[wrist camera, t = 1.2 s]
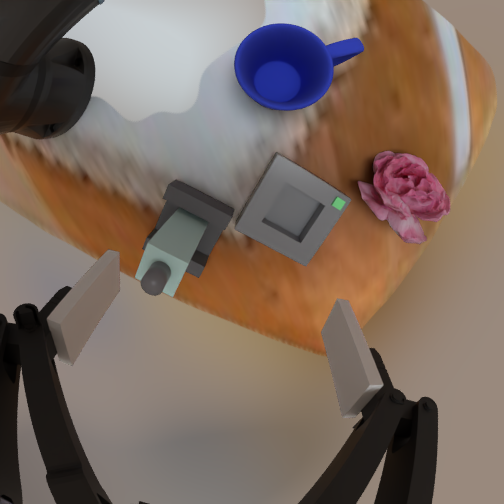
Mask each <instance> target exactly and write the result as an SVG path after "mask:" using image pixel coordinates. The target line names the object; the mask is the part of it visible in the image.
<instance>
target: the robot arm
mask: <svg viewBox="0 0 504 504" xmlns="http://www.w3.org/2000/svg"><path fill="white" fill-rule="evenodd" d="M103 2H104V0H0V134H3V133H8V132H15V133H18V134H21V135H25V136H28V137H31V138H34V139H46V138H52V137H56V136H59V135H61V134H63V133H64V132H66V131H67V130H69V129H70V128H71V127H72V126H73V125H74V124H75V123H76V122H77V120H78V119H79V118H80V116H81V115H82V113H83V112H84V110H85V108H86V106H87V104H88V102H89V100H90V97H91V94H92V91H93V87H94V81H95V63H94V59H93V56H92V53H91V52H90V50H89V49H88V47H87V46H86V45H84V44H83V43H81V42H79V41H76V40H73V39H69V38H62V37H63V36H64V35H65V34H66V33H67V32H68V31H69V30H70V29H71V28H72V27H73V26H74V25H75V24H76V23H78V22H79V21H80V20H81V19H82V18H83V17H84V16H85V15H86V14H88V13H89V12H90V11H91V10H92V9H93V8H95V7H96V6H97V5H99V4H102V3H103ZM119 255H120V252H117V251H113V250H109V249H108V250H107V251H106V252H105V253H104V254H103V255H102V257H101V258H100V259H99V260H98V261H97V262H96V263H95V264H94V265H93V266H92V267H91V268H90V269H89V270H88V271H87V272H86V273H85V275H84V276H83V277H82V278H81V279H80V280H79V281H78V282H77V283H76V284H75V286H74V287H73V288H71V287H68V286H66V287H64V288H62V289H60V290H59V291H58V292H57V293H56V294H55V295H54V297H52V298H51V300H50V301H49V302H48V303H47V304H46V305H45V306H44V307H43V308H42V310H41V311H40V312H38V309H37V307H36V306H35V305H33V304H29V303H28V304H22V305H20V306H18V307H17V308H16V309H15V311H14V314H13V316H14V319H15V321H16V324H13V323H8V322H7V319H6V317H5V316H4V315H3V314H0V504H22V489H21V482H20V472H19V463H18V448H17V407H18V391H19V379H20V371H21V367H22V375H23V381H24V388H25V393H26V398H27V403H28V407H29V413H30V417H31V421H32V425H33V429H34V432H35V435H36V439H37V443H38V446H39V449H40V452H41V455H42V458H43V461H44V464H45V466H46V470H47V475H46V479H47V483H48V486H49V488H50V490H51V493H52V495H53V497H54V500H55V502H56V504H112V502H111V501H110V499H109V498H108V496H107V494H106V492H105V491H104V490H103V488H102V487H101V485H100V483H99V481H98V480H97V477H96V476H95V474H94V472H93V469H92V467H91V465H90V463H89V461H88V459H87V457H86V455H85V452H84V450H83V448H82V445H81V443H80V441H79V438H78V435H77V433H76V430H75V427H74V425H73V422H72V419H71V416H70V413H69V411H68V408H67V404H66V401H65V398H64V395H63V391H62V388H61V385H60V381H59V377H58V373H57V369H56V365H55V361H54V357H55V355H56V354H58V357H59V360H60V361H62V362H64V363H66V364H68V365H71V366H73V364H74V362H75V361H76V359H77V357H78V356H79V354H80V352H81V351H82V349H83V347H84V346H85V344H86V342H87V341H88V339H89V337H90V336H91V334H92V333H93V331H94V329H95V328H96V326H97V325H98V323H99V321H100V320H101V318H102V317H103V315H104V314H105V312H106V311H107V309H108V308H109V306H110V305H111V303H112V301H113V300H114V299H115V297H116V296H117V294H118V293H119V291H120V267H119ZM321 334H322V337H323V341H324V345H325V349H326V353H327V357H328V360H329V364H330V368H331V372H332V376H333V381H334V385H335V389H336V393H337V397H338V402H339V406H340V410H341V415H342V418H353V417H356V416H357V415H358V414H359V413H360V412H362V416H363V417H362V419H360V420H359V421H358V423H357V424H356V425H355V426H354V427H353V428H355V429H354V430H353V432H352V433H351V435H350V436H349V438H348V439H347V441H346V442H345V444H344V445H343V447H342V448H341V450H340V451H339V453H338V454H337V455H336V457H335V458H334V460H333V461H332V463H331V464H330V465H329V466H328V468H327V469H326V471H325V472H324V473H323V474H322V476H321V477H320V478H319V479H318V481H317V482H316V483H315V485H314V486H313V487H312V488H311V489H310V491H309V492H308V493H307V494H306V495H305V496H304V498H303V499H302V500H301V501H300V502H299V503H298V504H356V503H357V501H358V499H359V498H360V497H361V495H362V493H363V492H364V490H365V488H366V487H367V485H368V483H369V481H370V480H371V478H372V476H373V474H374V473H375V471H376V469H377V467H378V465H379V464H380V462H381V460H382V458H383V455H384V454H385V452H386V450H387V453H386V458H385V463H384V468H383V472H382V476H381V481H380V484H379V488H378V492H377V495H376V499H375V502H374V504H432V498H433V491H434V483H435V474H436V461H437V443H438V408H437V405H436V403H435V402H434V401H433V400H432V399H431V398H429V397H422V398H421V399H420V400H419V401H418V402H414V401H410V400H406V397H405V395H404V394H403V393H402V392H401V391H400V390H398V389H395V388H394V387H393V385H392V382H391V380H390V377H389V375H388V373H387V370H386V369H385V365H384V364H383V361H382V358H381V356H380V355H379V353H378V352H377V351H376V350H375V349H374V348H369V347H368V345H367V342H366V340H365V337H364V335H363V333H362V330H361V328H360V326H359V323H358V321H357V319H356V317H355V314H354V312H353V310H352V308H351V305H350V303H349V301H348V300H343V299H338V298H337V300H336V302H335V304H334V307H333V309H332V311H331V313H330V315H329V317H328V319H327V321H326V323H325V325H324V327H323V329H322V331H321ZM139 504H148V503H144V502H141V501H140V502H139Z"/></svg>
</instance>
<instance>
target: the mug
mask: <svg viewBox="0 0 504 504" xmlns="http://www.w3.org/2000/svg"><path fill="white" fill-rule="evenodd" d="M363 51H364V47H363V44H362V43H361V41H360V40H359V39H358V38H352V39H347V40H343V41H339V42H335V43H332V44H329V45H327V46H325V44H324V43H323V42H322V41H321V40H320V39H319V38H318V37H317V36H316V35H315V34H313V33H312V32H310V31H308V30H306V29H304V28H302V27H299V26H296V25H292V24H271V25H267V26H263V27H261V28H259V29H257V30H255V31H253V32H252V33H250V34H249V35H248V36H247V37H246V38H245V39H244V40H243V41H242V43H241V44H240V46H239V47H238V50H237V52H236V55H235V61H234V68H235V74H236V77H237V80H238V82H239V84H240V86H241V87H242V89H243V90H244V91H245V92H246V94H247V95H248V96H250V97H251V98H252V99H253V100H255V101H256V102H257V103H259V104H260V105H262V106H264V107H266V108H269V109H274V110H286V111H287V110H297V109H302V108H305V107H307V106H310V105H312V104H313V103H315V102H317V101H318V100H319V99H320V98H321V97H322V96H323V95H324V94H325V93H326V92H327V90H328V88H329V87H330V84H331V82H332V78H333V67H334V66H336V65H338V64H341V63H343V62H345V61H347V60H348V59H350V58H352V57H354V56H356V55H358V54H359V53H361V52H363Z"/></svg>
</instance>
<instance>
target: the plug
mask: <svg viewBox="0 0 504 504" xmlns="http://www.w3.org/2000/svg"><path fill="white" fill-rule="evenodd" d="M208 223H209V222H208V221H206V220H204V219H202V218H200V217H198V216H196V215H194V214H192V213H190V212H188V211H186V210H184V209H182V208H180V207H179V208H178V209H177V210H176V211H175V213H174V214H173V215H172V216H171V217H170V218H169V219H168V220H167V221H166V223H165V224H164V225H163V226H162V227H161V228H160V229H159V230H158V232H157V233H156V234H155V235H154V236H153V237H152V238H151V240H150V241H149V242H148V243H147V246H146V249H145V251H144V254H143V257H142V259H141V262H140V265H139V267H138V270H137V273H136V276H135V278H136V279H138V280H140V281H141V286H142V289H143V290H144V291H145V292H146V293H148V294H150V295H154V296H156V295H159V294H161V293H162V292H163V293H165V294H167V295H169V296H171V297H173V296H174V293H175V291H176V289H177V287H178V285H179V283H180V281H181V279H182V277H183V275H184V273H185V271H186V269H187V267H188V265H189V262H190V260H191V258H192V256H193V254H194V252H195V250H196V248H197V246H198V244H199V241H200V239H201V237H202V235H203V233H204V231H205V229H206V227H207V225H208Z"/></svg>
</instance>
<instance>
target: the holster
mask: <svg viewBox="0 0 504 504" xmlns="http://www.w3.org/2000/svg"><path fill="white" fill-rule="evenodd" d="M163 199H165V200H167V201H166V203H165V205H164V208H163V210H162V212H161V215H160V217H159V220H158V222H157V224H156V227H155V229H154V230H153V231H152V232H151V233H150V234H149V235H148V236H147V238H146V241H145V243H144V246H143V248H142V249H143V250H145V249H146V246H147V243H148V242H149V241H150V240H151V238H152V237H153V236H154V235H155V234H156V233H157V232H158V230H159V229H160V228H161V227H162V226H163V225H164V224H165V223H166V221H167V220H168V219H169V218H170V217H171V216H172V215H173V214H174V213H175V211H176V210H177V209H178V208H179V207H180V208H182V209H184V210H186V211H188V212H190V213H192V214H194V215H196V216H198V217H200V218H202V219H204V220H206V221H208V222H209V223H208V225H207V227H206V229H205V231H204V233H203V235H202V237H201V239H200V241H199V244H198V246H197V248H196V250H195V252H194V254H193V256H192V258H191V260H190V262H189V265H188V267H187V269H186V272H188V273H190V274H192V275H194V276H196V277H198V278H199V277H200V275H201V273H202V271H203V269H204V267H205V265H206V262H207V259H208V257H209V255H210V253H211V251H212V249H213V247H214V245H215V243H216V242H217V240H218V238H219V236H220V234H221V232H222V231H223V230H225V229H226V227H227V225H228V223H229V222H230V220H231V218H232V215H233V212H234V209H232V208H231V207H229V206H227V205H225V204H223V203H221V202H219V201H217V200H215V199H213V198H211V197H209V196H207V195H205V194H203V193H202V192H200V191H198V190H196V189H194V188H192V187H190V186H188V185H186V184H184V183H182V182H180V181H178V180H175V181H173V182H172V183H170V184H169V185H168V188H167V190H166V192H165V194H164V197H163Z"/></svg>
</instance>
